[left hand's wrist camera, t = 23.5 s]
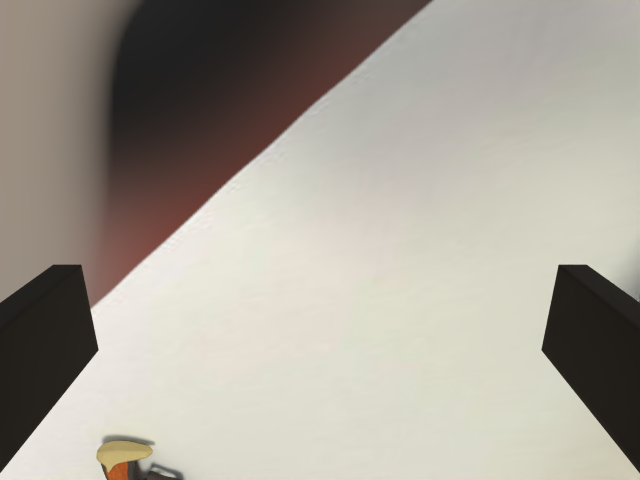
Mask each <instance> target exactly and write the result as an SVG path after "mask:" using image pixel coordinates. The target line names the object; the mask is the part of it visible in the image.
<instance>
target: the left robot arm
mask: <svg viewBox="0 0 640 480" xmlns="http://www.w3.org/2000/svg"><path fill="white" fill-rule="evenodd" d="M97 351H98V345H97V340H96V335H95V330H94V325H93V320H92V315H91V310H90V305H89V301H88V296H87V291H86V286H85V281H84V276H83V271H82V266H81V265H52V266H51V267H50V268H48V269H47V270H45V271H44V272H43V273H41V274H40V275H38V276H37V277H36V278H34V279H33V280H31V281H30V282H29V283H27V284H26V285H24V286H23V287H22V288H20V289H19V290H18V291H16V292H15V293H13V294H12V295H11V296H9V297H8V298H6V299H5V300H4V301H2V302H1V303H0V473H1V471H2V470H3V469H4V468H5V466H6V465H7V464H8V463H9V461H10V460H11V459H12V458H13V456H14V455H15V454H16V453H17V451H18V450H19V449H20V448H21V446H22V445H23V444H24V443H25V441H26V440H27V439H28V438H29V436H30V435H31V434H32V433H33V431H34V430H35V429H36V428H37V426H38V425H39V424H40V423H41V421H42V420H43V419H44V418H45V416H46V415H47V414H48V413H49V411H50V410H51V409H52V408H53V406H54V405H55V404H56V403H57V401H58V400H59V399H60V398H61V396H62V395H63V394H64V393H65V391H66V390H67V389H68V388H69V386H70V385H71V384H72V383H73V381H74V380H75V379H76V378H77V376H78V375H79V374H80V373H81V371H82V370H83V369H84V368H85V366H86V365H87V364H88V363H89V361H90V360H91V359H92V358H93V356H94V355H95V354H96V353H97ZM542 351H543V353H544V354H545V355H546V356H547V358H548V359H549V360H550V361H551V363H552V364H553V365H554V366H555V368H556V369H557V370H558V371H559V373H560V374H561V375H562V376H563V378H564V379H565V380H566V381H567V383H568V384H569V385H570V386H571V388H572V389H573V390H574V391H575V393H576V394H577V395H578V396H579V398H580V399H581V400H582V401H583V403H584V404H585V405H586V406H587V408H588V409H589V410H590V411H591V413H592V414H593V415H594V416H595V418H596V419H597V420H598V421H599V423H600V424H601V425H602V426H603V428H604V429H605V430H606V431H607V433H608V434H609V435H610V436H611V438H612V439H613V440H614V441H615V443H616V444H617V445H618V446H619V448H620V449H621V450H622V451H623V453H624V454H625V455H626V456H627V458H628V459H629V460H630V461H631V463H632V464H633V465H634V466H635V468H636V469H637V470H638V471H639V473H640V303H639V302H638V301H636V300H635V299H634V298H632V297H631V296H629V295H628V294H627V293H625V292H624V291H623V290H621V289H620V288H618V287H617V286H616V285H614V284H613V283H611V282H610V281H609V280H607V279H606V278H604V277H603V276H602V275H600V274H599V273H597V272H596V271H595V270H593V269H592V268H590V267H589V266H588V265H559V266H558V271H557V276H556V281H555V286H554V291H553V296H552V301H551V305H550V310H549V315H548V320H547V325H546V330H545V335H544V340H543V345H542Z"/></svg>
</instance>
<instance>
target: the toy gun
mask: <svg viewBox="0 0 640 480" xmlns="http://www.w3.org/2000/svg"><path fill="white" fill-rule="evenodd" d="M152 452H153V451H152V449H151V447H149V446H146V445H142V444H138V443H134V442H129V441H111V442H108V443H105V444H103V445H102V446H101V447H100V448H99V449H98V451H97V460H98V461H99V462H100V463H101V465H102V469H103V471H104V474H105V476H106V478H107V480H140V479H139V478H138V475H137V473H136V470H135V462H136V461H137V460H138V459H143V458H146V457H148V456H149V455H151V454H152ZM145 480H179V479H178V478H172V477H167V476H164V475H161V474H158V473H156V472H154V471H150V472H149V474H148V476H147V478H146V479H145Z"/></svg>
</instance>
